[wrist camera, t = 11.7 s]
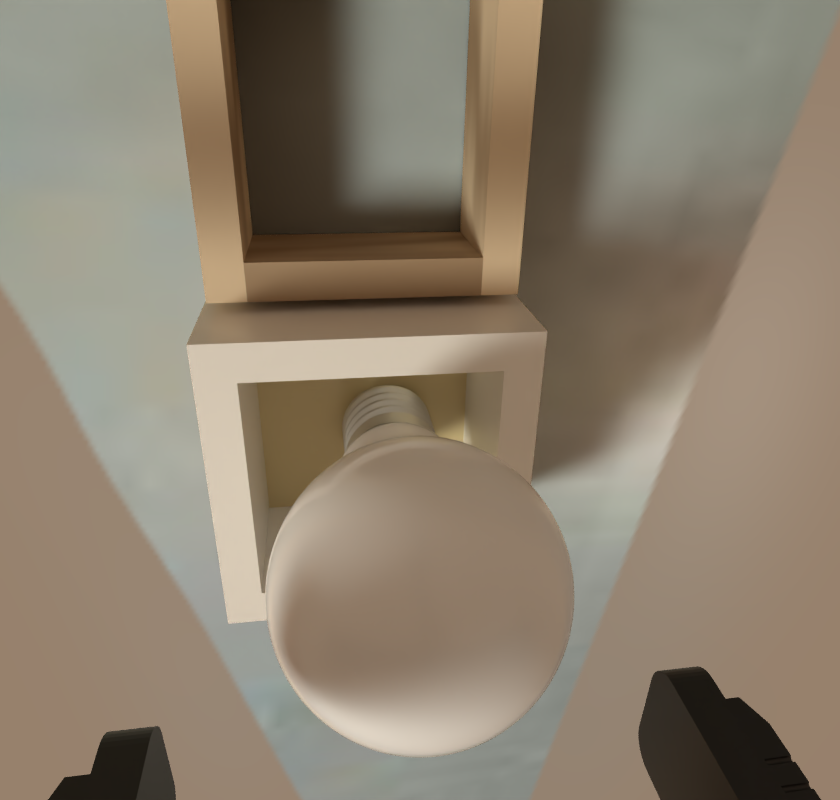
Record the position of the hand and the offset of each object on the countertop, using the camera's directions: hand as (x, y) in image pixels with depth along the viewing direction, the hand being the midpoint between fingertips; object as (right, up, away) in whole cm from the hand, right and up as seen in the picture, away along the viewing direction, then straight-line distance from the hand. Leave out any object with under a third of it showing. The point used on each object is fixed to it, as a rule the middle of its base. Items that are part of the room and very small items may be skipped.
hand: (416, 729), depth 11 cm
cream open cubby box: (-2, +5, +11) cm, 12 cm away
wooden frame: (-2, +13, +7) cm, 15 cm away
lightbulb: (-1, +5, +10) cm, 12 cm away
